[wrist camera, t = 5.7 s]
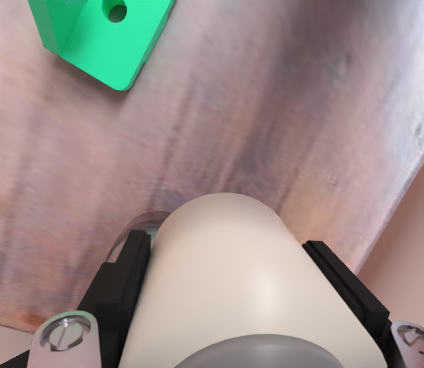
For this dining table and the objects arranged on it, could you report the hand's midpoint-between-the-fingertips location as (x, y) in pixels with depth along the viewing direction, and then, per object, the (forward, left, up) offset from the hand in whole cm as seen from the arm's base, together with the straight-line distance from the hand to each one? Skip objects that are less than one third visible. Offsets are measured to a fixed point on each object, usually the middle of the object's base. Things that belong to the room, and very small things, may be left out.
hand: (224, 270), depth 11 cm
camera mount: (+9, -14, -21) cm, 27 cm away
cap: (0, 0, -1) cm, 1 cm away
